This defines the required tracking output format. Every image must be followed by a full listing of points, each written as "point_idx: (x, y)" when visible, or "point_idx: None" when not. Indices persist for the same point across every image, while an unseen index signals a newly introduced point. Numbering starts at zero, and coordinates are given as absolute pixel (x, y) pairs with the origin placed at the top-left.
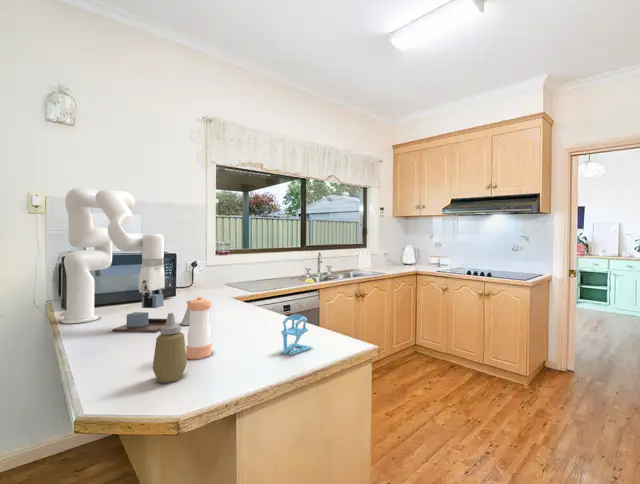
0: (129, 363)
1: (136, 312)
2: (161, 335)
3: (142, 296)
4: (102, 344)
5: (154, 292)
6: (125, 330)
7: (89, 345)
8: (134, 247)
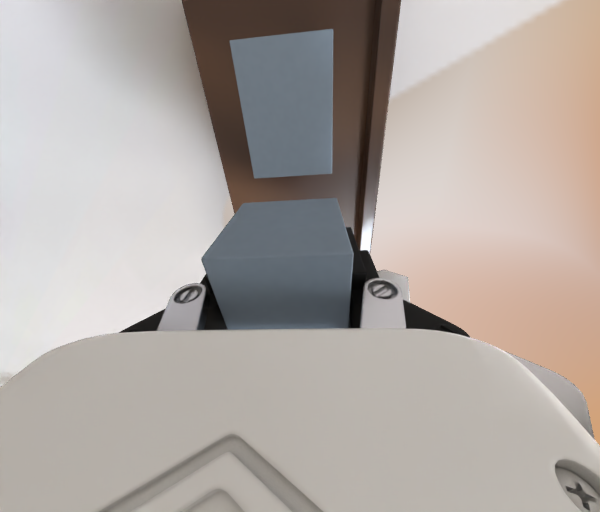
0: (59, 338)
1: (321, 64)
2: None
3: (205, 261)
4: (59, 176)
5: (361, 315)
6: (211, 113)
7: (15, 131)
8: None
